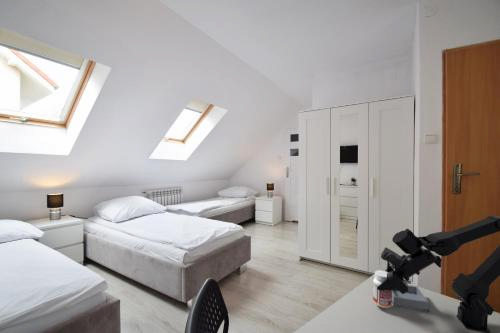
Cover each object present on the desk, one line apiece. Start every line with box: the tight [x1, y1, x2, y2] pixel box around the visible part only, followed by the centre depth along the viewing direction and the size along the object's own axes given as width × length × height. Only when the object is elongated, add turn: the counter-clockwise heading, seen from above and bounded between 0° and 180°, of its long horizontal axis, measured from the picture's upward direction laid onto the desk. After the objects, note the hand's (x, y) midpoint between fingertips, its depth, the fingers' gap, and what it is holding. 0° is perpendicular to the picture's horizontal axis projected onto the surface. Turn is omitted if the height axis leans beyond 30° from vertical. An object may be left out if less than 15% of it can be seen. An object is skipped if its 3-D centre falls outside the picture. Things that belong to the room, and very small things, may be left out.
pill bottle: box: [372, 269, 393, 309], centre depth 89 cm, size 6×6×11 cm
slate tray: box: [392, 284, 430, 313], centre depth 93 cm, size 11×11×4 cm
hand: (378, 284), depth 90 cm, fingers closed on pill bottle, 6 cm apart
